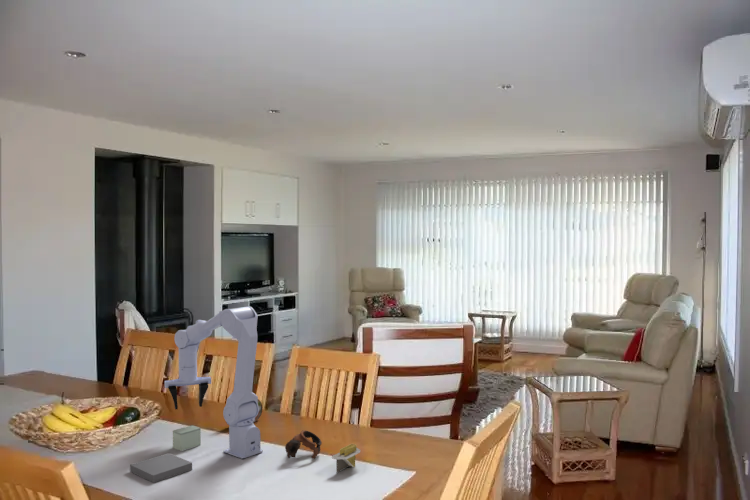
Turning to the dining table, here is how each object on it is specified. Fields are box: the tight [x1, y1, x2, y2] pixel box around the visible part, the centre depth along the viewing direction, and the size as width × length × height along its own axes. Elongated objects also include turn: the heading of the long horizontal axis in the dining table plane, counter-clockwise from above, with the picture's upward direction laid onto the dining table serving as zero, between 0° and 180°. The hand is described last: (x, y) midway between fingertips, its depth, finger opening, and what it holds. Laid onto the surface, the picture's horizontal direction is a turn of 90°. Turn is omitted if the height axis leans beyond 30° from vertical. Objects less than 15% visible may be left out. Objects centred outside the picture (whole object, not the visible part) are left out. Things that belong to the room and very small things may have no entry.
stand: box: [129, 452, 193, 484], centre depth 175 cm, size 12×12×2 cm
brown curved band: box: [284, 430, 323, 460], centre depth 186 cm, size 12×10×8 cm
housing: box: [172, 424, 202, 452], centre depth 195 cm, size 4×7×6 cm, turn 140°
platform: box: [331, 443, 361, 474], centre depth 177 cm, size 12×18×7 cm, turn 146°
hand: (188, 407), depth 204 cm, fingers open, 7 cm apart
